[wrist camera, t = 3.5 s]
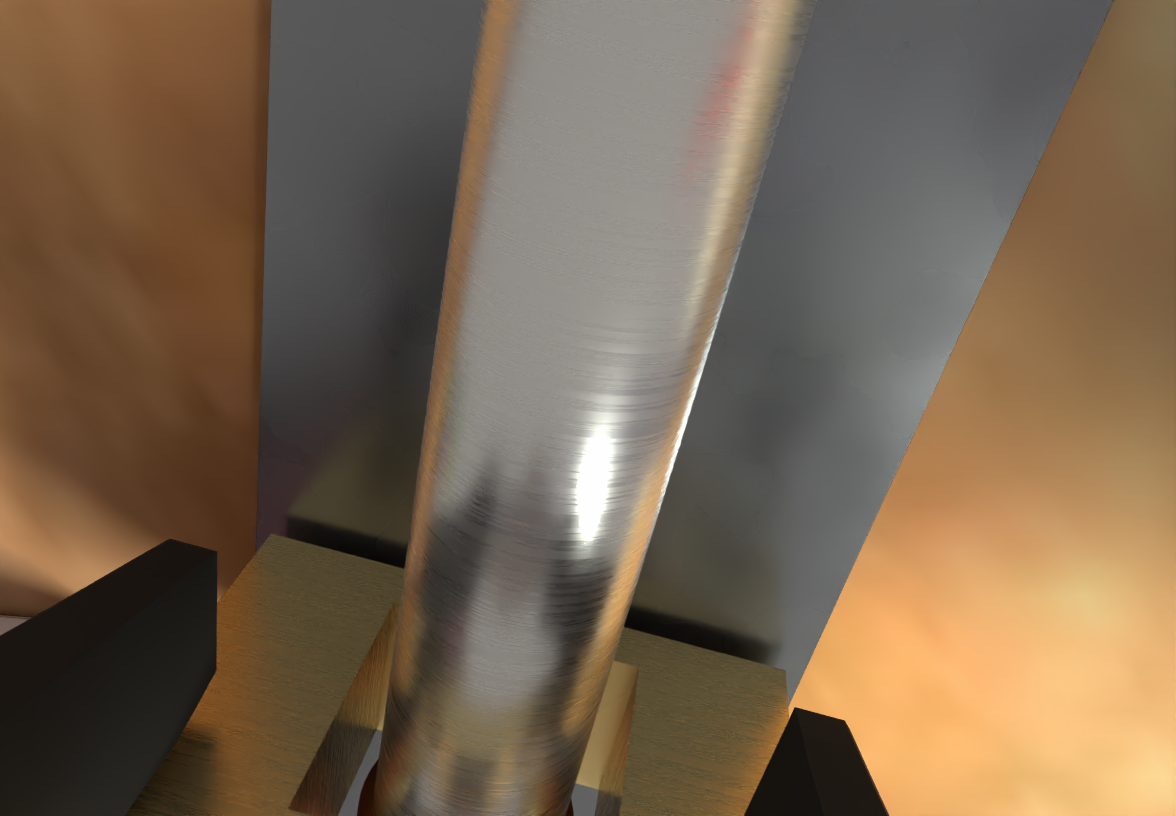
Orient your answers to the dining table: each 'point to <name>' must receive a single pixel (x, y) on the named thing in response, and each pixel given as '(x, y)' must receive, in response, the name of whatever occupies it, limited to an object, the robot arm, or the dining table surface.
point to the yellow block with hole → (359, 693)
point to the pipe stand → (617, 328)
